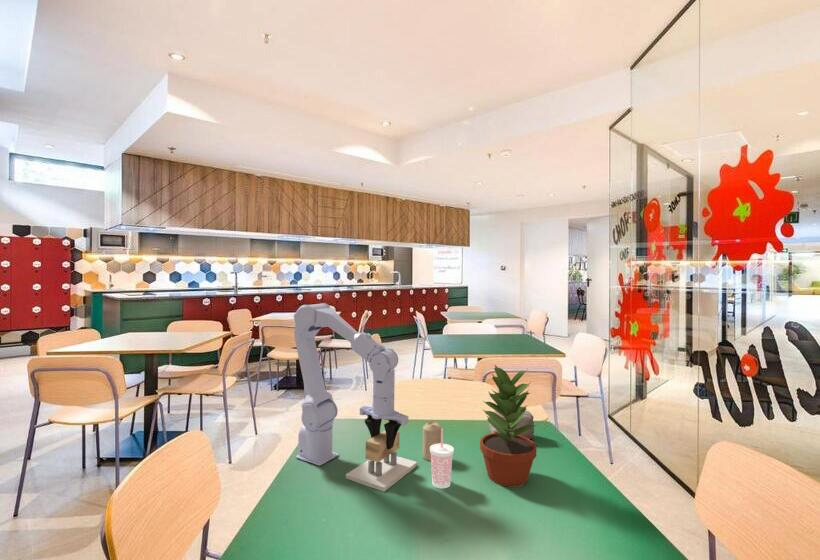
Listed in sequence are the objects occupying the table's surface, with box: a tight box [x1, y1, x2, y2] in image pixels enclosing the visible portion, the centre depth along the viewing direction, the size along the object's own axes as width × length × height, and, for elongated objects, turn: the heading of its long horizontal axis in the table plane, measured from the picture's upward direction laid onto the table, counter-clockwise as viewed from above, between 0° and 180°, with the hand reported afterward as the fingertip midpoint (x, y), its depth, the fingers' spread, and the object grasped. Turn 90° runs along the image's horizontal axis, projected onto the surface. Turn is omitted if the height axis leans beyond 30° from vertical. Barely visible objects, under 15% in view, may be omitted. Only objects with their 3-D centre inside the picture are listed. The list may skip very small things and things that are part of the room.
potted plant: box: [479, 364, 537, 488], centre depth 106 cm, size 15×15×30 cm
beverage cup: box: [430, 427, 455, 489], centre depth 102 cm, size 6×6×14 cm
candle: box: [422, 420, 443, 462], centre depth 116 cm, size 6×6×10 cm
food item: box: [488, 410, 535, 440], centre depth 132 cm, size 14×8×10 cm, turn 92°
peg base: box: [345, 451, 418, 492], centre depth 107 cm, size 12×16×4 cm
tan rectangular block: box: [365, 430, 400, 462], centre depth 107 cm, size 10×4×4 cm, turn 149°
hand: (382, 446), depth 107 cm, fingers closed on tan rectangular block, 4 cm apart
